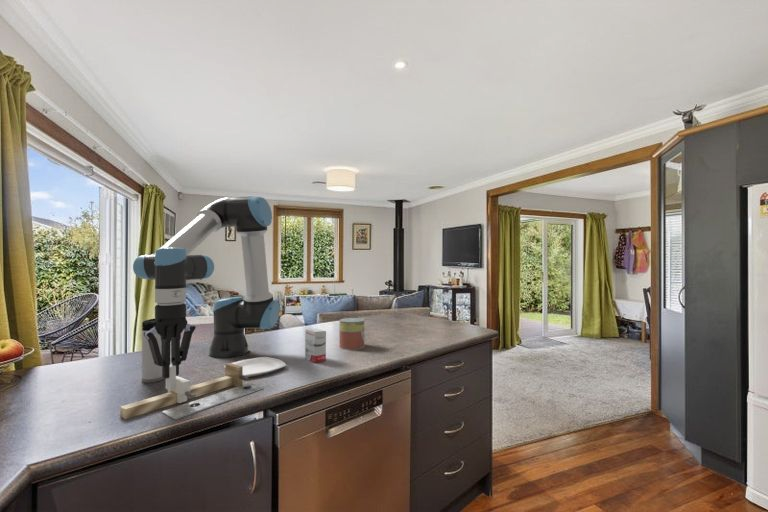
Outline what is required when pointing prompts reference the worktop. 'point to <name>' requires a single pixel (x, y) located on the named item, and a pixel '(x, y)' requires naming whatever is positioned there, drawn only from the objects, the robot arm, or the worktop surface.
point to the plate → (259, 366)
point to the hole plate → (211, 401)
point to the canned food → (351, 333)
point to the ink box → (315, 345)
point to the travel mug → (149, 356)
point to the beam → (231, 378)
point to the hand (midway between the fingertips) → (170, 388)
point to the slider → (182, 389)
